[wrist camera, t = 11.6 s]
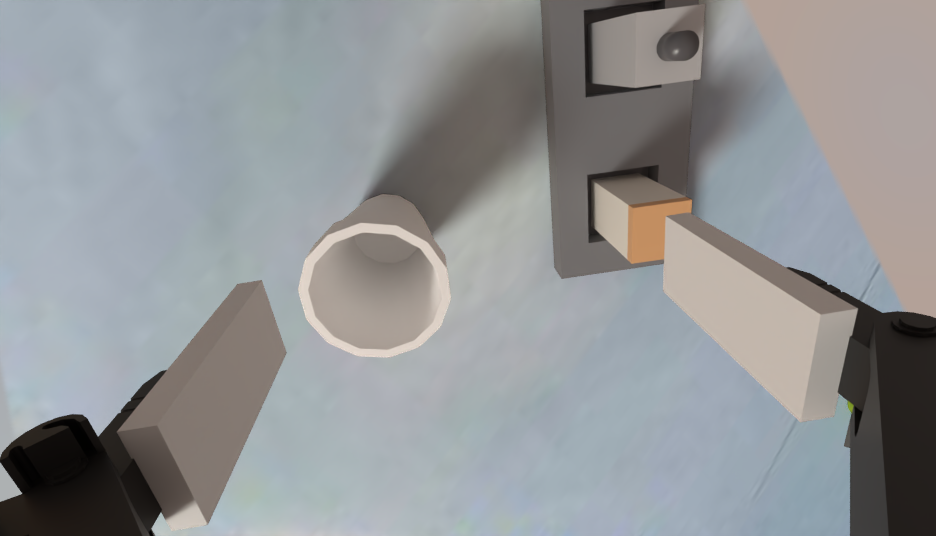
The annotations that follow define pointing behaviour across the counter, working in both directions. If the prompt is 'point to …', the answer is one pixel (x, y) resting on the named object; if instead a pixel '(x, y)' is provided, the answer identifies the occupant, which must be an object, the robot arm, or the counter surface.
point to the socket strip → (603, 131)
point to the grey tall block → (647, 47)
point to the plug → (634, 214)
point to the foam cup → (376, 280)
